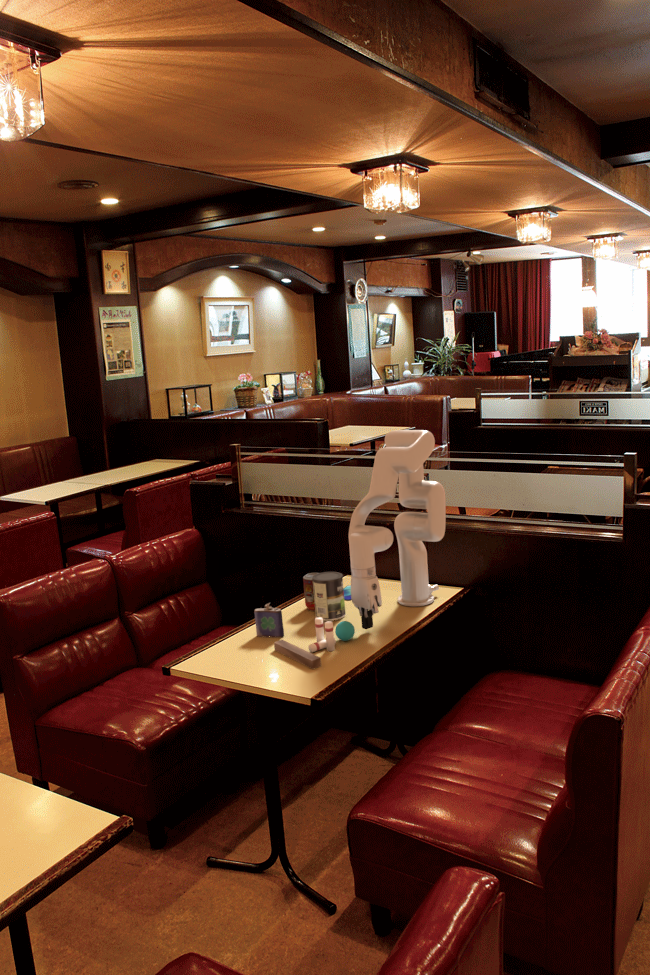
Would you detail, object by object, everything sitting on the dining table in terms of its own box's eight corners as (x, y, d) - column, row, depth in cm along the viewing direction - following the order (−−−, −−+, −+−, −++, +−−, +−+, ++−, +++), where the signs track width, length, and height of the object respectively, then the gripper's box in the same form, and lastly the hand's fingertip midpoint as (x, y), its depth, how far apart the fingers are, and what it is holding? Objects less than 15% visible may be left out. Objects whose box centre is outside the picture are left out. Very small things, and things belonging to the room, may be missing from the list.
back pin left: (331, 647, 225) (329, 620, 224) (336, 649, 223) (334, 622, 222) (325, 649, 224) (322, 622, 222) (329, 652, 222) (327, 624, 220)
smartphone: (331, 598, 269) (347, 585, 283) (331, 600, 270) (347, 587, 283) (350, 599, 266) (366, 586, 280) (351, 602, 266) (366, 588, 280)
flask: (255, 637, 239) (252, 605, 237) (259, 633, 242) (255, 602, 240) (282, 638, 236) (279, 605, 234) (285, 634, 239) (282, 602, 237)
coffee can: (348, 610, 256) (345, 571, 254) (342, 621, 246) (339, 580, 244) (318, 610, 258) (315, 571, 256) (312, 621, 249) (309, 580, 246)
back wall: (282, 647, 228) (282, 639, 228) (321, 666, 212) (320, 657, 212) (274, 650, 227) (273, 642, 226) (312, 669, 211) (312, 660, 210)
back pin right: (321, 643, 229) (319, 616, 228) (326, 645, 227) (324, 618, 226) (315, 645, 228) (313, 618, 226) (320, 647, 226) (317, 620, 224)
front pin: (330, 635, 228) (307, 643, 223) (335, 637, 226) (312, 645, 221) (331, 643, 228) (308, 651, 224) (336, 645, 226) (313, 653, 222)
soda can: (302, 611, 259) (299, 577, 257) (311, 604, 266) (308, 571, 264) (320, 612, 256) (317, 578, 254) (329, 605, 263) (326, 572, 261)
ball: (328, 628, 229) (337, 642, 232) (339, 633, 225) (349, 647, 227) (340, 615, 232) (349, 628, 234) (352, 619, 227) (361, 633, 230)
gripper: (388, 573, 228) (392, 630, 231) (357, 564, 240) (361, 618, 243) (369, 579, 223) (373, 637, 227) (339, 570, 235) (343, 625, 239)
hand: (367, 627), depth 235 cm, fingers closed
